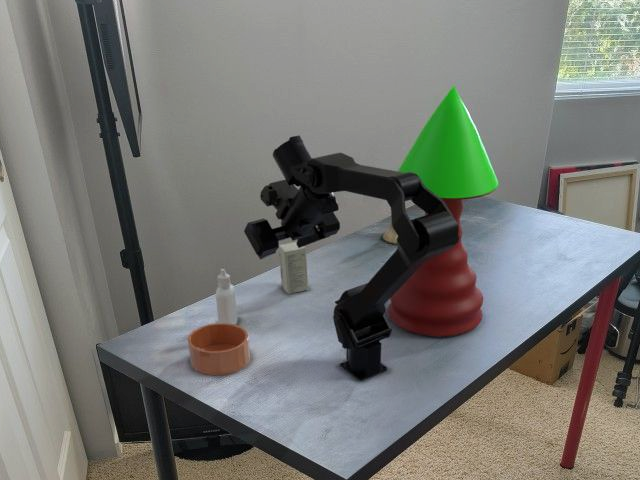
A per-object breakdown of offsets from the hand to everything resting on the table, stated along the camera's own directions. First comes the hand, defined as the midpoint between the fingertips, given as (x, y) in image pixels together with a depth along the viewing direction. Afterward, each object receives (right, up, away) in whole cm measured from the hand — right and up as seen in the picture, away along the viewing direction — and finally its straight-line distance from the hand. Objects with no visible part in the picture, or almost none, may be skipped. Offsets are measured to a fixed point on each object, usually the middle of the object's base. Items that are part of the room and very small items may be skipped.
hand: (279, 251), depth 143 cm
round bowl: (-10, -22, -6) cm, 25 cm away
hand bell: (+27, +13, +44) cm, 53 cm away
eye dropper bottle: (-11, -14, +6) cm, 18 cm away
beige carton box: (+2, -4, +19) cm, 20 cm away
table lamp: (+32, -12, +9) cm, 35 cm away
